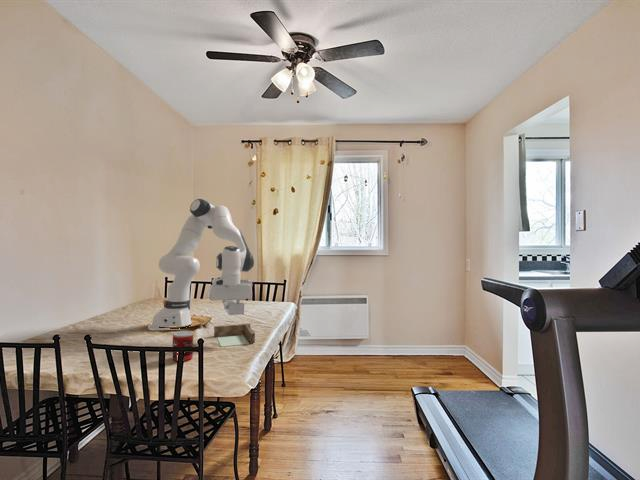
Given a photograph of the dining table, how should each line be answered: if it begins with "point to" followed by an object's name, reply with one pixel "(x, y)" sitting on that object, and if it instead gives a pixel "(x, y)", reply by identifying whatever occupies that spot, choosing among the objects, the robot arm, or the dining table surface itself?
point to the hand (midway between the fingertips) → (230, 308)
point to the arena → (235, 331)
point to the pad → (232, 340)
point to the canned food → (183, 343)
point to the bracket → (234, 308)
